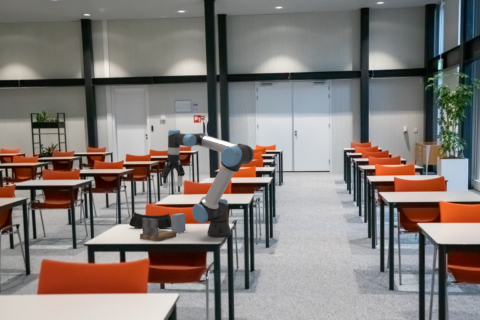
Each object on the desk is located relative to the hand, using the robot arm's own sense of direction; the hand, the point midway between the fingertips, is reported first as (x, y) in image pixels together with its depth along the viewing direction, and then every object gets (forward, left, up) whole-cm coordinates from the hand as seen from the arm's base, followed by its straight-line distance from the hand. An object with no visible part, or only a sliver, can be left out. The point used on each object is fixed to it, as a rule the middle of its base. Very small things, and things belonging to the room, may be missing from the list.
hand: (172, 187), depth 334 cm
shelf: (+2, +12, -31) cm, 33 cm away
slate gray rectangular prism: (+2, -7, -31) cm, 32 cm away
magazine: (+28, -8, -31) cm, 43 cm away
